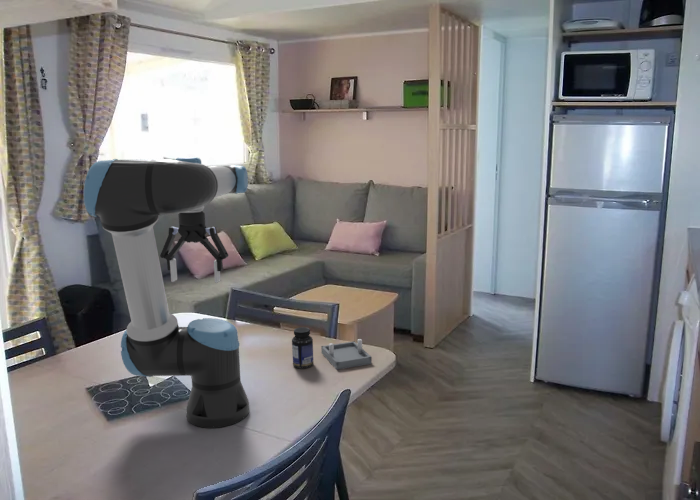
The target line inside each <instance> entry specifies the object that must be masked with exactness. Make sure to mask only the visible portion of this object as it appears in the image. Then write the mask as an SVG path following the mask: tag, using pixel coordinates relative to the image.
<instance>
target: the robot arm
mask: <svg viewBox="0 0 700 500" xmlns="http://www.w3.org/2000/svg"><path fill="white" fill-rule="evenodd" d="M248 176H249V175H248V170H247V168H246V166H243V165H236V164H234V165H206V164H203V163H202V159H201V158H200V157H195V156H194V157H193V156H192V157H190V156H189V157H187V156H186V157H177V158H175V159H169V158H158V159H157V158H156V159H151V158H150V159H149V158H148V159H141V158H140V159H118V158H114V159H107V160H106V159H105V160H98V161H96V162H94V163H93V164H92V165H91V166H90V167H89V169H88V171H87V174H86V176H85V181H84V186H83V203H84V207H85V210H86V212H87V213H88V215H89V216H91V217H94V218H99V219H100V222H101V227H102V229H103V230H105V231H106V232H108V233H110V234H111V237H112V241H113V246H114V250H115V256H116V260H117V264H118V268H119V273H120V277H121V282H122V285H123V290H124V291H123V292H124V295H125V299H126V303H127V307H128V313H129V317H130V320H131V321H130V322H129V323H128V325H127V326H126V330H124V332H123V334H122V337H121V341H120V348H121V350H120V356H121V359H122V364H123V365H124V367H125V369H126V370H127V372H128V373H130V374H131V375H133V376H139V377H147V378H148V377H149V378H151V377H169V376H170V377H171V376H172V377H174V376H175V377H177V376H178V377H179V376H180V377H181V376H183V377H184V376H189V377H191V390H190V393H189V397H188V401H187V404H186V412H185V413H186V419H187V421H188V422H189V423H190V424H192V425H193V426H195V427H199V428H200V427H201V428H205V429H207V428H209V429H211V428H212V429H214V428H215V429H216V428H222V427H224V428H225V427H228V426H232V425H235V424H236V423H239V422H241V421H243V420H244V419H245V418H246V417H247V416H248V415H249V414H250V402H249V397H248V396H247V395H248V394H247V393H246V391H245V389H244V386H243V383H242V381H241V364H240V341H239V335H238V334H239V333H238V330H237V328H236V326H235V324H233V323H231V322H229V321H227V320H224V319H220V318H212V317H211V318H210V317H209V318H207V317H204V318H198V319H195V320H191V321H190V322H189V323H187V326H179V323H178V319H177V317H176V316H175V315H174V314H172V313H171V312H170V310H169V305H168V299H167V293H166V290H165V283H164V278H163V273H162V268H161V263H160V258H161V259H165V260H166V266H167V267H166V268H167V270H168V271H170V281H171V283H175V282H176V281H178V269H177V259H176V258H175V256H176V254H177V253H178V252H179V251H180V249H181V248H182V247H183V245H184V244H185V243H187V244H188V243H189V244H190V243H195V244H197V243H200V244H201V245H202V246H204V248H205V249H206V250H207V251H208V253H209V254H211V255H212V257H213V258H214V259H215V260H213V272H214V283H216V284H217V283H219V282H221V281H222V280H221V272H222V271H223V269H224V267H223V263H224V262H223V260H224V259H228V257H229V253H228V252H227V249H226V247H225V246H224V244H223V242H222V240H221V239H220V236H219V235H218V231H217V230H218V229H217V227H216V226H212V227H207V225H206V213H205V211H204V209H205V206H207V205H209V204H210V203H212V201H213V200H214V199H215V198H218V197H220V196H223V195H228V194H236V195H237V194H243V193H246V192H247V191H248V185H249V180H248V179H249V177H248ZM177 214H178V227H176V226H174V225H173V226H170V227H169V228H168V235H167V238H166V239H165V242H164V245H163V247H162V250H161V252H160V257H159V251H158V247H157V246H158V245H157V241H156V236H155V230H154V226H155V225H156V224H157V222H158V221H159V216H170V215H171V216H172V215H177ZM178 233H179V235H180V237H179V239H178V241H177V243H176V244H175V245H174V246H173V248H172V249H171V247H172V245H173V242H174V240H175V238H176V235H177V234H178ZM206 234H208V235H209V236H210V238H211V241H212V242H213V243H214V245H213V244H212V243H211V241H210V240H209V238H208V237H207V236H206Z"/></svg>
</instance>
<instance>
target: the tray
mask: <svg viewBox="0 0 700 500" xmlns="http://www.w3.org/2000/svg"><path fill="white" fill-rule="evenodd" d="M320 347H321V354H322V355H323V357H324V358H326V359H327V361H328V362H329V363H330V364H331V365H332V366H333V368H335V370H343V369H348V368H349V369H350V368H355V367H361V366H368V365H372V364H373V363H372V356H371V355H370V354H369V353H368V352H367V351H366V350H365V349H363V339H361V338H358V339H357V342H356V341H354V340H353V341H348V342H341V343H331V342H330V343H328V344H326V345H321V346H320Z"/></svg>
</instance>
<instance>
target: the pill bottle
mask: <svg viewBox="0 0 700 500" xmlns="http://www.w3.org/2000/svg"><path fill="white" fill-rule="evenodd" d="M310 334H311V329H310V328H309V327H305V326H302V327H296V328H294V330H293V335H294V336H293V337H292V339H291V349H292V350H291V351H292V365H293V367H294V368H297V369H308V368H311V367H312V366H313V365H314V343H313V342H314V340H313V337H312V336H311V335H310Z"/></svg>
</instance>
